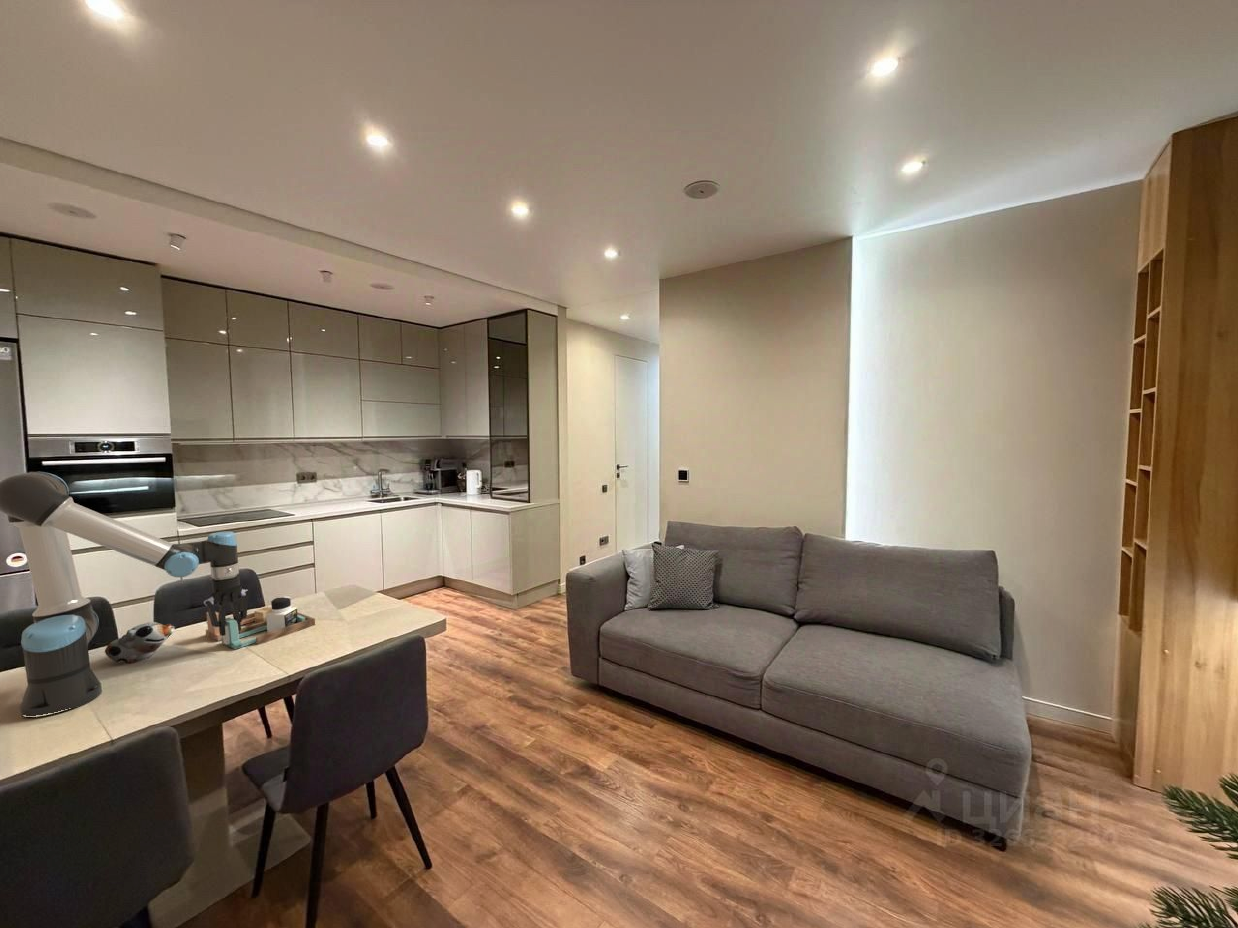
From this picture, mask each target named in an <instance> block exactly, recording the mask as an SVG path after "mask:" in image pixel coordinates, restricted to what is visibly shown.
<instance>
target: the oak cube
mask: <svg viewBox="0 0 1238 928" xmlns="http://www.w3.org/2000/svg"><path fill="white" fill-rule="evenodd" d="M270 612H272V606H265V607H263V608H258V609H256V610H254V613H255V621H254V624H257V623H260V622H263V621H266V620H267V619H266V615H267V614H268V613H270Z"/></svg>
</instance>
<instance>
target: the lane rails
mask: <svg viewBox="0 0 1238 928" xmlns="http://www.w3.org/2000/svg"><path fill="white" fill-rule="evenodd" d="M297 614H298V615H300V616H303V617H305V621H302V622H299V623H296V624H293V625H290V626H287V627H284V628H281V629H278V630H275V631H272V632H269V633H268V632H267V633H264V634H259V635H257V636H256V637H255V638H256V642H255V644H256V645H262V644H265V643H268V642H270V641H273V640H276V639H278V638H282V637H284V636H287V635H290V634H293V633H296V632H299V631H301V630H304V629H308V628H311V627H313V626H315V625H316V618H314V617H312V616H309V615H306V614H303V613H300V612H298V611H297ZM253 617H255V612H252V613H249V614H248V613H247V617H246V618H245V619H242V621H243V620H246V619H250V618H253ZM266 625H267V620H266V621H263V622H260V623H253V624H250V625H248V626H245V627H241V630H239V634H241V633H244V632H247V631H250V630H253V629H256V628H259V627H262V626H266Z"/></svg>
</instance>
